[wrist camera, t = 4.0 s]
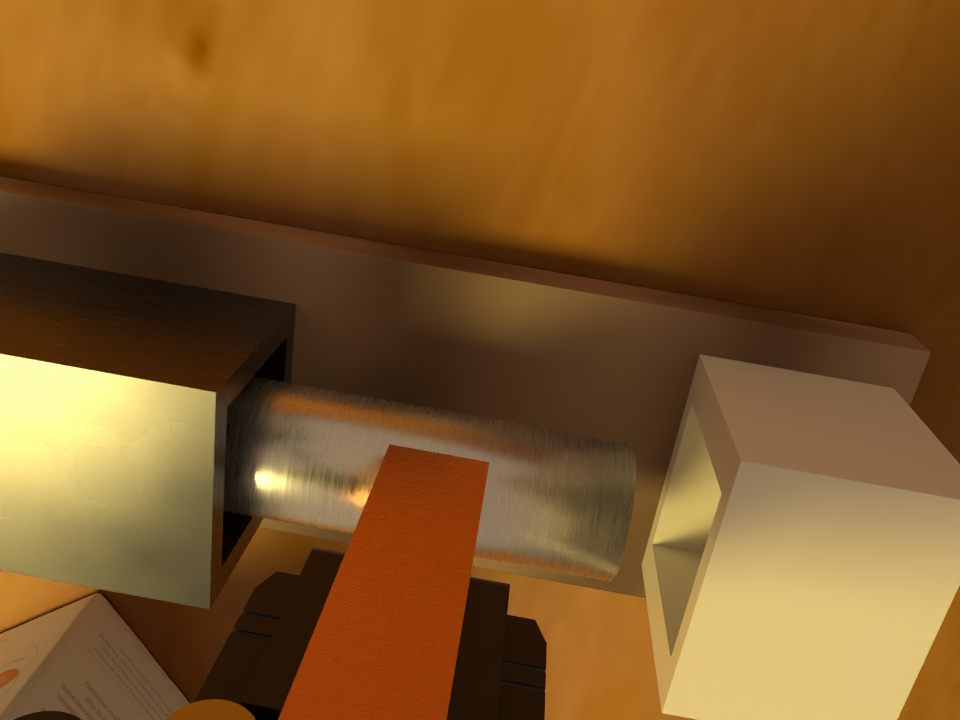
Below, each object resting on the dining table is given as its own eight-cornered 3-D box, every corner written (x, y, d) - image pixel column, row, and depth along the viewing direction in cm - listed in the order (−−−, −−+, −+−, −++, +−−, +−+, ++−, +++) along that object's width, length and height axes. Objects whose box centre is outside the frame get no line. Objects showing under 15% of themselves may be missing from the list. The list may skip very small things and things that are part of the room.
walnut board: (-52, 444, 24) (-81, 465, 23) (-84, 161, 21) (-120, 170, 20) (809, 600, 23) (822, 630, 22) (910, 333, 20) (931, 352, 19)
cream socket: (641, 564, 22) (661, 712, 17) (699, 354, 19) (741, 461, 15) (814, 596, 22) (881, 754, 17) (893, 388, 19) (996, 506, 15)
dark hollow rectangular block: (-73, 418, 22) (-240, 525, 18) (-96, 235, 20) (-290, 302, 16) (284, 483, 22) (209, 609, 17) (296, 304, 20) (216, 392, 15)
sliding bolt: (41, 428, 21) (-439, 811, 11) (34, 314, 20) (-513, 628, 10) (603, 529, 20) (638, 1023, 10) (629, 420, 19) (699, 861, 9)
